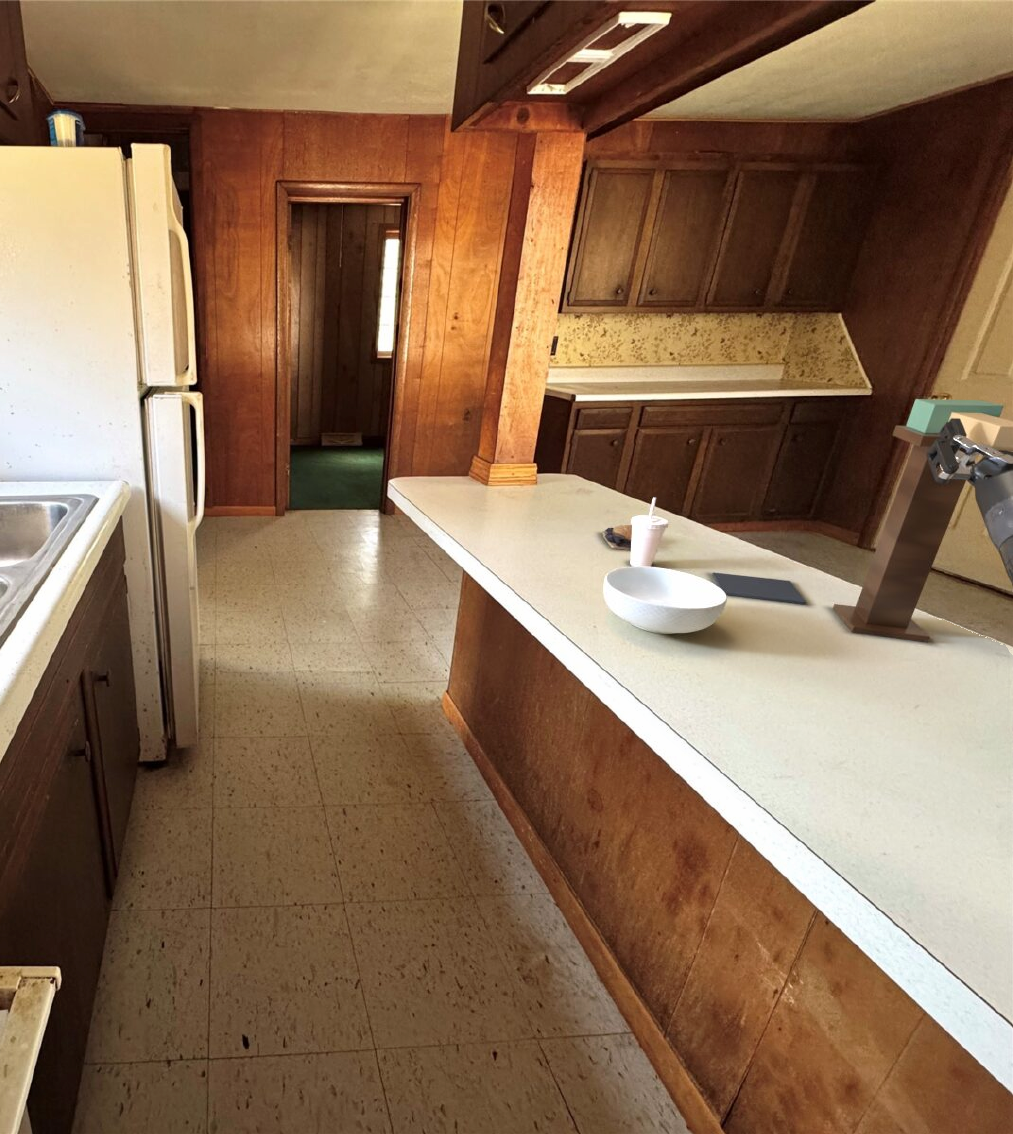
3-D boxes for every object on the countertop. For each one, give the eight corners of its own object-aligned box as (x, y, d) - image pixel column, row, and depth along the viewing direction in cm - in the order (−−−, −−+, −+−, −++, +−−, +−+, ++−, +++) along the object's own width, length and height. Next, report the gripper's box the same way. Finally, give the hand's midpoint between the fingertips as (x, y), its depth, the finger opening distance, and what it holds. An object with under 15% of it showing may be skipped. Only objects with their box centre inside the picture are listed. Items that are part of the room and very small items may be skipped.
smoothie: (659, 562, 128) (674, 496, 123) (658, 573, 123) (673, 504, 118) (623, 557, 131) (636, 492, 126) (621, 567, 126) (634, 500, 121)
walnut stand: (902, 617, 102) (977, 427, 91) (928, 642, 95) (1013, 438, 83) (832, 609, 106) (895, 425, 95) (851, 632, 99) (923, 435, 87)
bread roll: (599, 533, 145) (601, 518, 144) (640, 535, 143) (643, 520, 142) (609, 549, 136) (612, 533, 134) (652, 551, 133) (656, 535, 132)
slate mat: (789, 583, 116) (790, 580, 116) (805, 604, 108) (806, 602, 108) (712, 574, 121) (712, 572, 121) (722, 594, 113) (722, 592, 113)
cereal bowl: (627, 648, 96) (636, 607, 94) (581, 602, 112) (587, 566, 109) (741, 647, 95) (753, 606, 93) (678, 601, 111) (687, 564, 108)
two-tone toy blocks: (969, 428, 91) (980, 400, 89) (1047, 452, 76) (1061, 419, 74) (905, 426, 94) (915, 399, 92) (968, 449, 79) (981, 417, 77)
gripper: (932, 531, 77) (905, 444, 86) (1099, 544, 71) (1052, 449, 80) (968, 487, 72) (935, 399, 80) (1153, 498, 66) (1096, 401, 75)
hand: (994, 424), depth 80 cm, fingers open, 7 cm apart
